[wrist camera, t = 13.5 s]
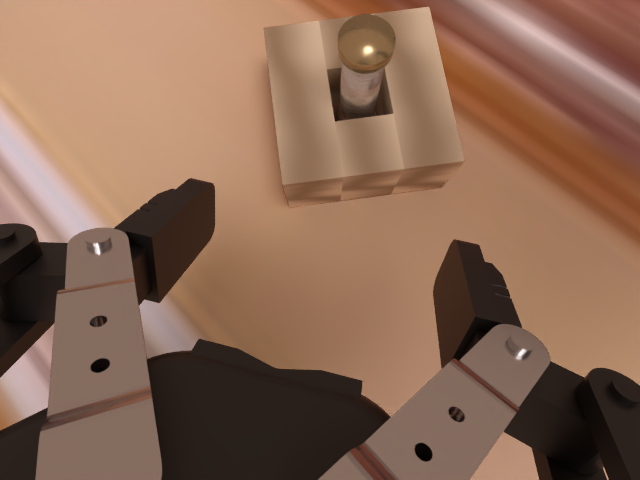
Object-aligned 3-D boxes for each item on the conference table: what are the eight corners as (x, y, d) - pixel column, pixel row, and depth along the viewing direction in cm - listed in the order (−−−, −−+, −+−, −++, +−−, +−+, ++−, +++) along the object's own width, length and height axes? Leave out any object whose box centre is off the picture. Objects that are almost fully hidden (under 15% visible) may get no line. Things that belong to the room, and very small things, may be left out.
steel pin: (370, 109, 31) (390, 10, 21) (376, 144, 30) (400, 60, 20) (331, 114, 31) (333, 18, 21) (337, 149, 30) (342, 67, 20)
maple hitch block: (413, 54, 32) (429, 6, 27) (441, 187, 29) (464, 160, 24) (273, 72, 31) (263, 27, 27) (289, 207, 29) (282, 184, 24)
